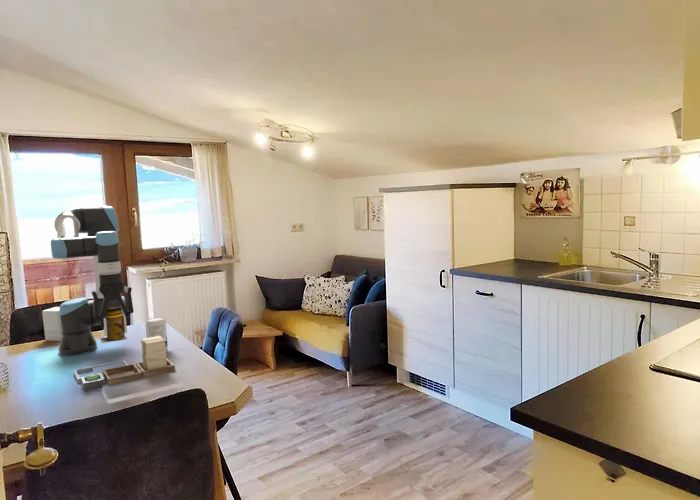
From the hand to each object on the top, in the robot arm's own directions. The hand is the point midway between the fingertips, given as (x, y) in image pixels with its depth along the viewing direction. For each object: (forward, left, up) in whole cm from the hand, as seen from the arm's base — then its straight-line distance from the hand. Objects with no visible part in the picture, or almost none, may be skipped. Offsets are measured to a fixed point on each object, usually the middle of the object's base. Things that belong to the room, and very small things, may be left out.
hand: (115, 333), depth 190 cm
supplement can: (-23, +20, -18) cm, 35 cm away
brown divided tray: (+1, +7, -18) cm, 19 cm away
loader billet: (+1, +13, -16) cm, 21 cm away
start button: (+1, -9, -16) cm, 18 cm away
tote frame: (-12, -4, -18) cm, 22 cm away
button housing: (+1, -9, -18) cm, 20 cm away
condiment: (0, -1, -2) cm, 2 cm away
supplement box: (-80, -13, -18) cm, 83 cm away
